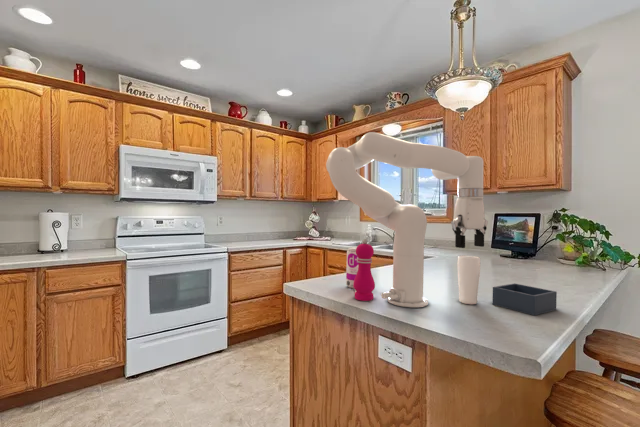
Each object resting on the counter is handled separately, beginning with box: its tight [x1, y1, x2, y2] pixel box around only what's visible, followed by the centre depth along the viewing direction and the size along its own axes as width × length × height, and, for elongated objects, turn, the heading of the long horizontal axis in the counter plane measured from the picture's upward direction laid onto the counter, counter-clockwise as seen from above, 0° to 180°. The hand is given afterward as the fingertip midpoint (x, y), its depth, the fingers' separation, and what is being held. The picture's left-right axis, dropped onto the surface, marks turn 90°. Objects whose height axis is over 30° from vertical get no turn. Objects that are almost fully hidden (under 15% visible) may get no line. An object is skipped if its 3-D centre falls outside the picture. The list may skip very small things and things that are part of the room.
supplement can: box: [345, 246, 358, 289], centre depth 123 cm, size 8×8×15 cm
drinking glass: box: [456, 255, 481, 305], centre depth 103 cm, size 7×7×15 cm
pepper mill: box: [353, 238, 376, 302], centre depth 106 cm, size 7×7×20 cm
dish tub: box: [491, 283, 558, 316], centre depth 99 cm, size 13×13×6 cm
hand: (469, 246), depth 103 cm, fingers open, 9 cm apart
